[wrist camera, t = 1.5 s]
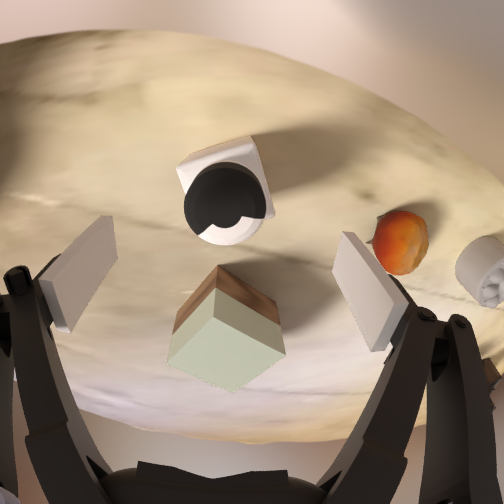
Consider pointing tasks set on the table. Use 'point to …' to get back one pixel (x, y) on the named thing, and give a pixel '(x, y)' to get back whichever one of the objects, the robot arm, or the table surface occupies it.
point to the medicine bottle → (225, 192)
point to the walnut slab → (232, 288)
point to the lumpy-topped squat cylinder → (482, 271)
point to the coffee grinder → (491, 378)
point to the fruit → (400, 242)
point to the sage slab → (225, 343)
